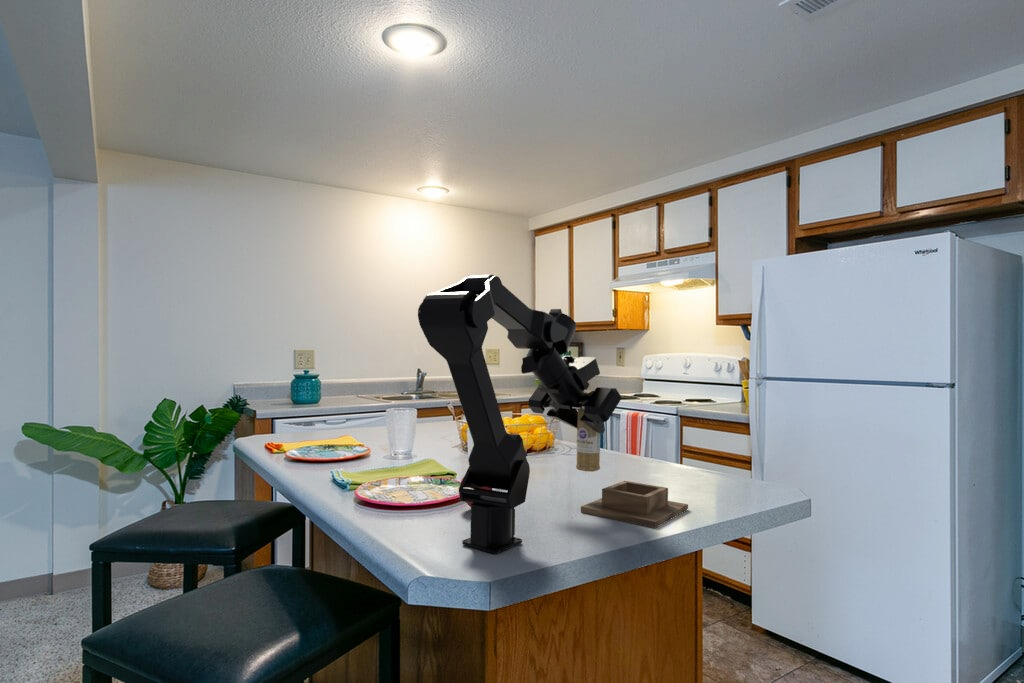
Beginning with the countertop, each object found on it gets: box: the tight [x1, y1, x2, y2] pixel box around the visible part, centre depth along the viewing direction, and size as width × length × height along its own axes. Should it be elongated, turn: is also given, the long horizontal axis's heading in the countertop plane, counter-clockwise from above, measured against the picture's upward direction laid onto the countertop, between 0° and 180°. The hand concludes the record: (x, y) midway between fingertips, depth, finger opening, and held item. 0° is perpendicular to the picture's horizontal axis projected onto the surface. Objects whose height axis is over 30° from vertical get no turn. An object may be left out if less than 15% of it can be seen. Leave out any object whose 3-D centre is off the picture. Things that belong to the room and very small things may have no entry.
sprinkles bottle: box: [575, 407, 601, 473], centre depth 110 cm, size 5×5×14 cm
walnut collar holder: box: [580, 480, 689, 529], centre depth 105 cm, size 14×14×4 cm
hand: (593, 430), depth 110 cm, fingers closed on sprinkles bottle, 4 cm apart
